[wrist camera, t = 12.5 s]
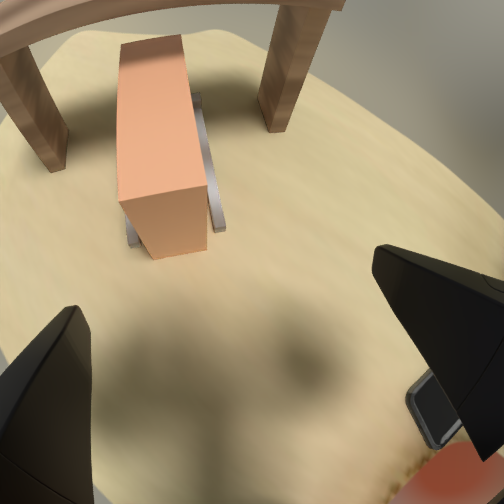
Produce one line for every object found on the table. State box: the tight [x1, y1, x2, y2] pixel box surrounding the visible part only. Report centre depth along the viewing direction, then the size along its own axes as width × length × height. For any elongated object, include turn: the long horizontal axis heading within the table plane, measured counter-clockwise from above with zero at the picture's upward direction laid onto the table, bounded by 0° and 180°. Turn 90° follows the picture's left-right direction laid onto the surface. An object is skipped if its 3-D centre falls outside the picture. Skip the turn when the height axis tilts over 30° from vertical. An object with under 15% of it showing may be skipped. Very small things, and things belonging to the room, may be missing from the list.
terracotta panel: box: [117, 34, 208, 260], centre depth 19 cm, size 12×4×10 cm, turn 13°
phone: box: [406, 369, 463, 450], centre depth 23 cm, size 8×1×15 cm
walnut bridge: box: [0, 0, 346, 248], centre depth 17 cm, size 14×22×16 cm, turn 103°
